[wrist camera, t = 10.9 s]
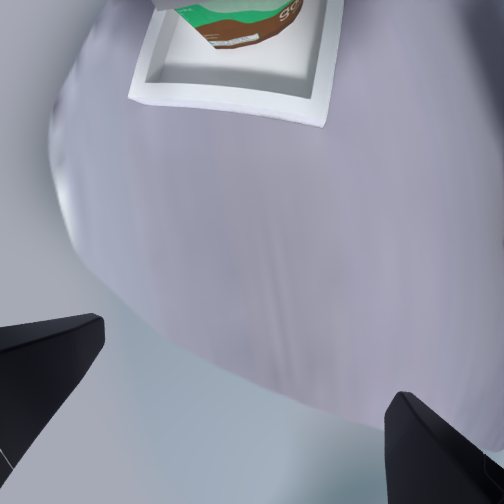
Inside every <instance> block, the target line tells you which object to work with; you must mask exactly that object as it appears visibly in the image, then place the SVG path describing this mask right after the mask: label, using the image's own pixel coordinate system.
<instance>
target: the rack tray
mask: <svg viewBox="0 0 504 504" xmlns="http://www.w3.org/2000/svg"><path fill="white" fill-rule="evenodd" d="M343 8H344V0H303V5H302V8H301V11H300V12H299V14H298V15H297V17H296V19H295V20H294V22H293V23H291V24H290V25H289V26H288V27H286V28H285V29H284V30H283V31H281V32H280V33H279V34H278V35H276V36H273V37H271V38H269V39H267V40H264V41H262V42H260V43H258V44H254V45H249V46H244V47H240V48H235V49H215V48H214V47H213V46H212V45H211V44H210V43H209V42H208V41H207V40H206V39H205V38H204V37H203V36H202V35H201V34H200V33H199V32H198V31H197V30H196V29H195V28H193V27H192V26H191V25H190V24H189V23H188V22H187V21H186V20H185V19H184V18H183V17H182V16H180V15H179V14H178V13H177V12H176V11H175V10H174V9H170V10H164V11H157V9H156V7H155V10H154V12H153V15H152V18H151V21H150V23H149V26H148V29H147V32H146V35H145V38H144V41H143V44H142V48H141V51H140V54H139V58H138V61H137V64H136V68H135V72H134V75H133V79H132V83H131V87H130V91H129V95H128V98H130V99H133V100H135V101H137V102H140V103H142V104H145V105H157V106H175V107H189V108H201V109H211V110H220V111H228V112H236V113H244V114H250V115H257V116H263V117H269V118H275V119H281V120H286V121H291V122H296V123H301V124H306V125H311V126H315V127H320V128H323V126H324V124H325V122H326V118H327V112H328V107H329V101H330V95H331V89H332V83H333V77H334V71H335V65H336V58H337V52H338V45H339V38H340V31H341V24H342V16H343Z"/></svg>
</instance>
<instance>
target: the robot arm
mask: <svg viewBox="0 0 504 504" xmlns="http://www.w3.org/2000/svg"><path fill="white" fill-rule="evenodd" d="M104 343H105V327H104V319H103V318H102V317H101V316H99V315H96V314H93V313H89V314H83V315H77V316H71V317H65V318H59V319H52V320H46V321H39V322H33V323H26V324H20V325H13V326H6V327H0V488H1V487H2V485H3V484H4V482H5V481H6V480H7V478H8V477H9V475H10V474H11V472H12V471H13V469H14V468H15V466H16V465H17V463H18V462H19V461H20V460H21V458H22V457H23V455H24V454H25V453H26V451H27V450H28V449H29V447H30V446H31V444H32V443H33V442H34V440H35V439H36V438H37V436H38V435H39V434H40V432H41V431H42V430H43V429H44V427H45V426H46V425H47V423H48V422H49V421H50V419H51V418H52V417H53V416H54V414H55V413H56V412H57V410H58V409H59V408H60V406H61V405H62V404H63V403H64V401H65V400H66V399H67V398H68V396H69V395H70V394H71V393H72V391H73V390H74V389H75V388H76V386H77V385H78V384H79V383H80V381H81V380H82V378H83V377H84V375H85V374H86V372H87V371H88V369H89V368H90V366H91V365H92V363H93V362H94V360H95V358H96V357H97V355H98V354H99V352H100V351H101V349H102V348H103V346H104ZM384 423H385V469H386V480H387V495H388V504H504V469H503V468H502V467H501V466H499V465H498V464H497V463H495V462H494V461H493V460H491V459H490V458H489V457H488V456H487V455H486V454H483V452H482V451H481V450H480V449H478V448H477V447H476V446H475V445H474V444H472V443H471V442H470V441H469V440H467V439H466V438H465V437H464V436H463V435H461V434H460V433H459V432H458V431H457V430H455V429H454V428H453V427H452V426H451V425H449V424H448V423H447V422H446V421H445V420H443V419H442V418H441V417H440V416H439V415H437V414H436V413H435V412H434V411H433V410H432V409H430V408H429V407H428V406H427V405H426V404H424V403H423V402H422V401H421V400H420V399H418V398H417V397H416V396H415V395H414V394H412V393H411V392H403V391H400V392H398V393H397V394H396V395H395V397H394V399H393V400H392V402H391V404H390V405H389V407H388V409H387V410H386V413H385V417H384Z"/></svg>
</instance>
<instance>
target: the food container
mask: <svg viewBox="0 0 504 504" xmlns="http://www.w3.org/2000/svg"><path fill="white" fill-rule="evenodd" d="M151 1H152V3H153V4H154V6H155V7H156V9H157V11H164V10H170V9H174V10H175V11H176V12H177V13H178V14H179V15H180V16H182V17H183V18H184V19H185V20H186V21H187V22H188V23H189V24H190V25H191V26H192V27H193V28H195V29H196V30H197V31H198V32H199V33H200V34H201V35H202V36H203V37H204V38H205V39H206V40H207V41H208V42H209V43H210V44H211V45H212V46H213V47H214V48H215V49H235V48H240V47H244V46H249V45H254V44H258V43H260V42H262V41H264V40H267V39H269V38H271V37H273V36H276V35H278V34H279V33H280V32H281V31H283V30H284V29H285V28H286V27H288V26H289V25H290V24H291V23H293V22H294V20H295V19H296V17H297V15H298V14H299V12H300V11H301V8H302V5H303V0H151Z"/></svg>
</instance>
